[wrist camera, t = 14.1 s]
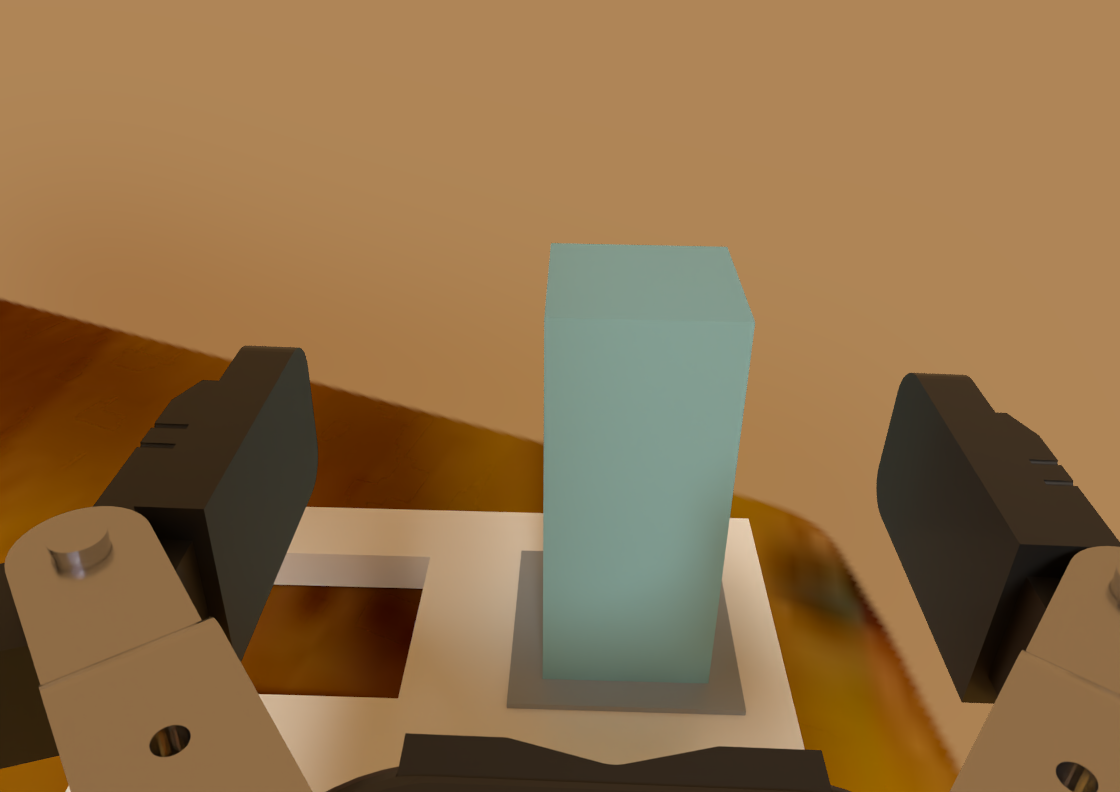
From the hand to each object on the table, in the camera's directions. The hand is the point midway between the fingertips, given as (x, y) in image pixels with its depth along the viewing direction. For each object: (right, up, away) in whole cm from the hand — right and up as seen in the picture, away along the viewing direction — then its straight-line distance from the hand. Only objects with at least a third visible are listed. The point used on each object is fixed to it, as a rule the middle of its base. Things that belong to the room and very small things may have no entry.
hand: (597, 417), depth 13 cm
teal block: (+2, -7, +18) cm, 19 cm away
